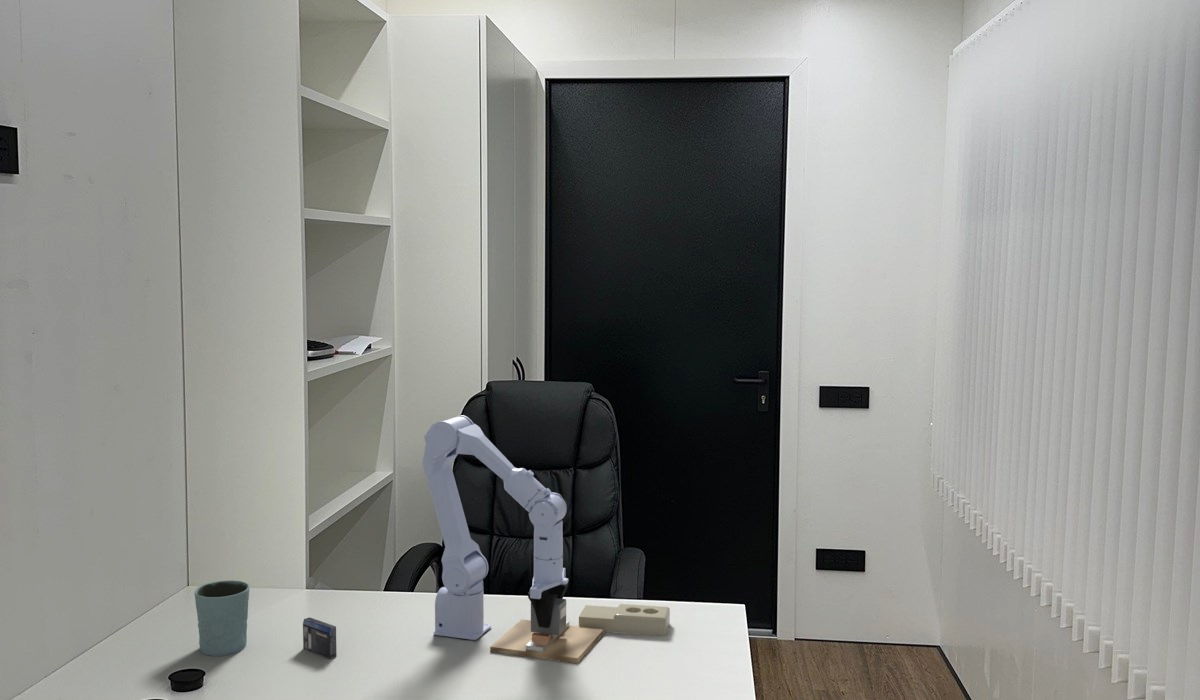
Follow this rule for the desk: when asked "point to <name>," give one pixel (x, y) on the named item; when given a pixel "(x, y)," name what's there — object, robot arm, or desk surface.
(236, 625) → the teal cup
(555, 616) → the block
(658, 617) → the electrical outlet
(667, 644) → the desk surface
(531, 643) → the din rail
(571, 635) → the mounting board
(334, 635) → the mini dv tape
